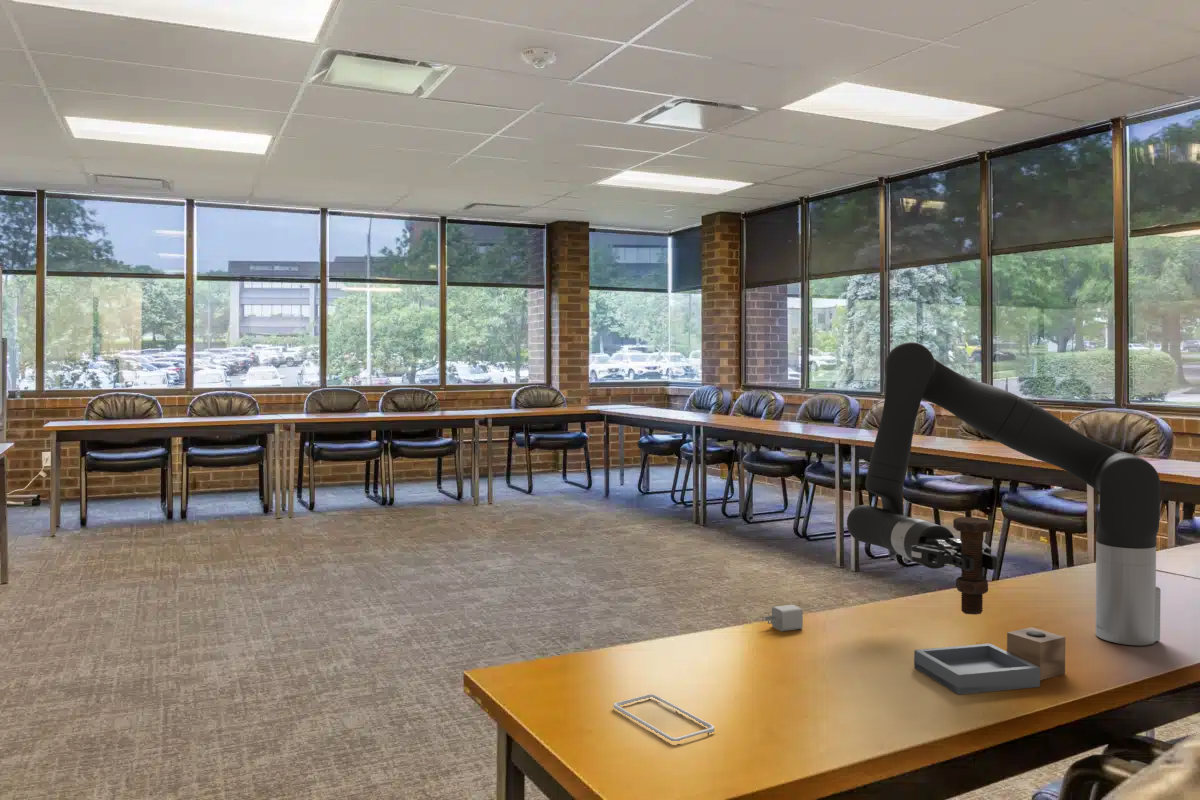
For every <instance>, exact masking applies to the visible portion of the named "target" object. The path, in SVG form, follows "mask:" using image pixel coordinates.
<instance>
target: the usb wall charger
mask: <svg viewBox="0 0 1200 800" xmlns="http://www.w3.org/2000/svg"><path fill="white" fill-rule="evenodd" d="M803 614H804V613H803V609H802V608H801V607H799V606H798V605H795V604H786V605H777V606H772V607H771V615H768V616H762V618H761V619H762V621H763V622H766V621H767V624H770V625H771V626H772V627H773V628H774V629H776V630H778V631H780V632H786V631H787V632H788V631H794V630H797V631H798V630H802V629H804V624H803V621H804V620H803V619H804V618H803Z"/></svg>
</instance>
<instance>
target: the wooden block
mask: <svg viewBox="0 0 1200 800" xmlns="http://www.w3.org/2000/svg"><path fill="white" fill-rule="evenodd" d="M1006 635H1007V636H1006V651H1007V652H1009V653H1011V654H1013V655H1015V656H1017V657H1019V658H1021V659H1023V660H1026V661H1028V662H1030V663H1032V664H1034V665H1036V666H1038V667H1040V681H1043V679H1044V680H1047V678H1048V679H1051V677H1052V678H1055V677H1059V676H1062V675H1065V674H1066V636H1064V635H1060V634H1056V633H1052V632H1049V631H1046V630H1043V629H1040V628H1035V627H1033V626H1030V627H1026V628H1022V629H1017V630H1013V631H1008V632H1006Z"/></svg>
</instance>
